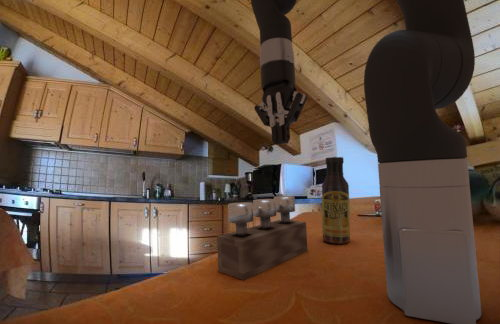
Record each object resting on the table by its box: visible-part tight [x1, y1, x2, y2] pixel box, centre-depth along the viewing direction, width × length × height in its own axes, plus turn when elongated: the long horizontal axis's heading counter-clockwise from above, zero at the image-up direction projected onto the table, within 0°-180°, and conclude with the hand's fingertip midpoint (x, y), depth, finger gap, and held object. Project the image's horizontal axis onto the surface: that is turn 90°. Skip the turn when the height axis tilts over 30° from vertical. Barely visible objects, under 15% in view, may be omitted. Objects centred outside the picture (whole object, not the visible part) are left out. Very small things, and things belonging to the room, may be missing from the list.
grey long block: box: [216, 219, 308, 281], centre depth 49 cm, size 19×6×6 cm, turn 136°
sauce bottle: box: [321, 156, 351, 245], centre depth 59 cm, size 6×6×20 cm
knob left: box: [227, 201, 254, 238], centre depth 44 cm, size 4×4×7 cm
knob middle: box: [252, 198, 277, 231], centre depth 49 cm, size 4×4×7 cm
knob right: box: [273, 195, 296, 225], centre depth 54 cm, size 4×4×7 cm
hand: (281, 143), depth 54 cm, fingers closed
